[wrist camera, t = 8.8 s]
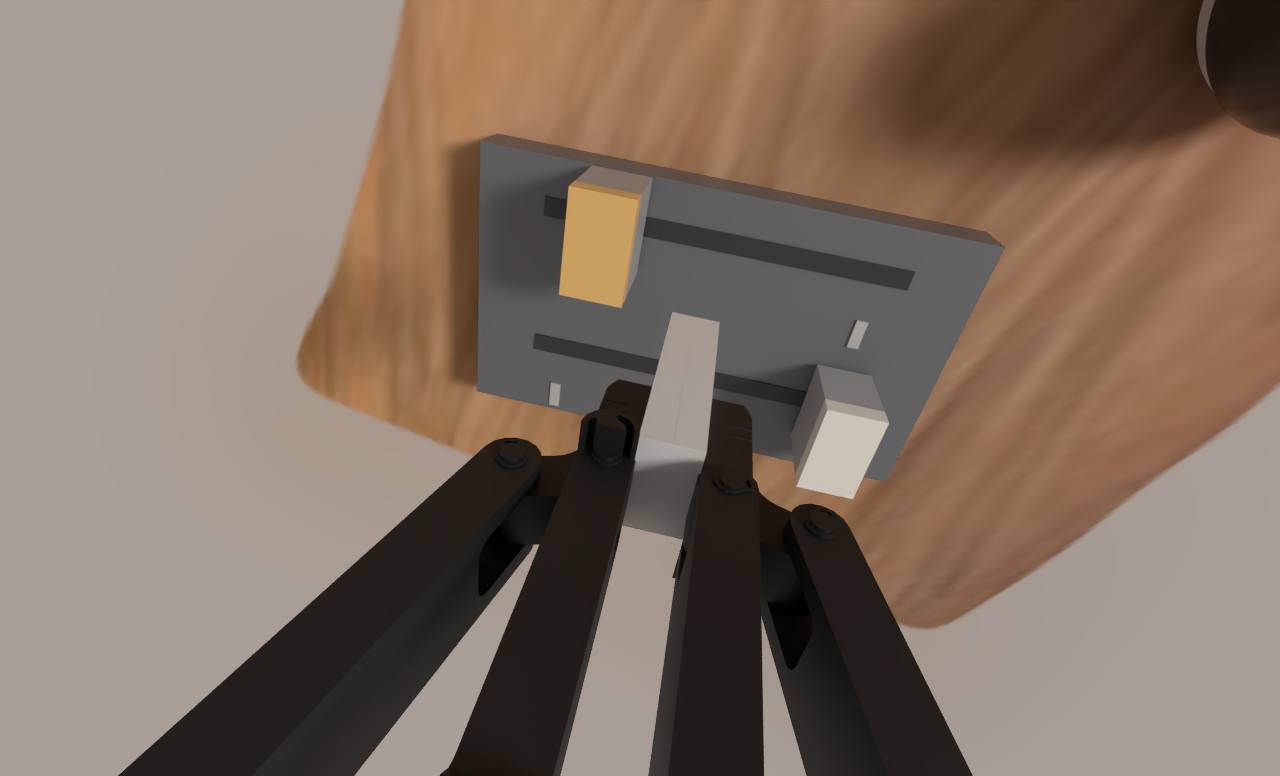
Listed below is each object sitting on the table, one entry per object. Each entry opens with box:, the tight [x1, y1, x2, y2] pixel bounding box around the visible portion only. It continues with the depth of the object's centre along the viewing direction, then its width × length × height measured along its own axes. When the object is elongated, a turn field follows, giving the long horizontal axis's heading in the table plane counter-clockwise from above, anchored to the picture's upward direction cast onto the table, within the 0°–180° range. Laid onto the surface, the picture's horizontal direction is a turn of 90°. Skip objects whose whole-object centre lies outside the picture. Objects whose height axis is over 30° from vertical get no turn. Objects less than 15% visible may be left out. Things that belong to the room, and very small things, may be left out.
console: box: [477, 134, 1005, 482], centre depth 33 cm, size 15×26×3 cm, turn 81°
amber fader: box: [559, 165, 653, 308], centre depth 28 cm, size 5×3×5 cm, turn 171°
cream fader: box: [791, 364, 889, 499], centre depth 31 cm, size 5×3×5 cm, turn 171°
